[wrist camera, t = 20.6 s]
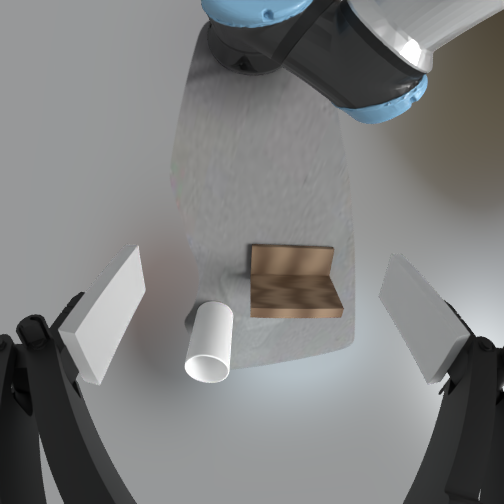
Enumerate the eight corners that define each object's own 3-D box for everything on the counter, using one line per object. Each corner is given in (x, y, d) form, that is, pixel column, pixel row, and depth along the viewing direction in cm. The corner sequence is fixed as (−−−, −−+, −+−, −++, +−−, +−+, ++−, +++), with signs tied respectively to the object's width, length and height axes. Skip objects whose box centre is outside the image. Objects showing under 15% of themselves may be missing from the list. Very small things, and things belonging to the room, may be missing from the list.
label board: (250, 281, 57) (250, 319, 46) (252, 244, 53) (252, 277, 43) (326, 282, 58) (340, 319, 47) (332, 247, 54) (351, 279, 43)
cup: (213, 334, 64) (206, 387, 50) (189, 312, 61) (175, 365, 47) (240, 318, 62) (238, 373, 47) (216, 294, 59) (207, 349, 44)
